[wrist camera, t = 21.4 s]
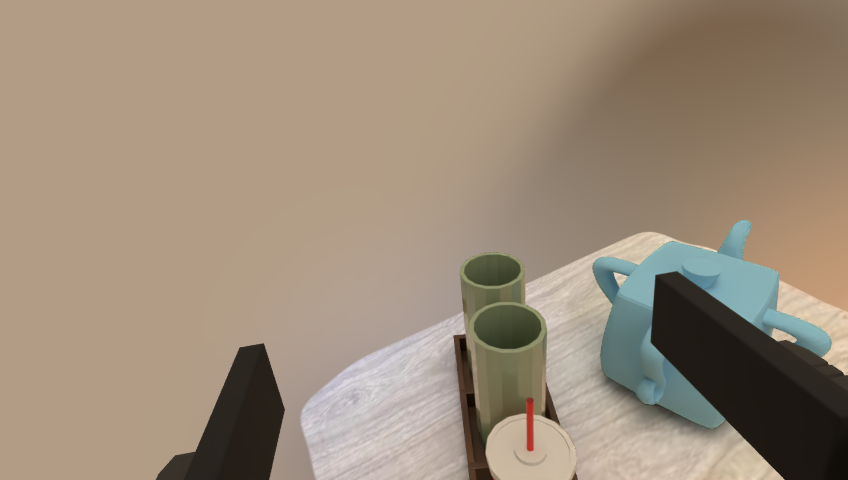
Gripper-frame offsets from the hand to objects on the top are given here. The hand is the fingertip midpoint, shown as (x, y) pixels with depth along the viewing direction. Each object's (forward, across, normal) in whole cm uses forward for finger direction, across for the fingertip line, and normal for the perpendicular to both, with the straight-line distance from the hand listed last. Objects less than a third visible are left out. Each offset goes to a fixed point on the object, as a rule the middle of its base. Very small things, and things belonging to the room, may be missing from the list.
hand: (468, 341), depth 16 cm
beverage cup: (+12, +5, -26) cm, 29 cm away
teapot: (+24, +26, -25) cm, 44 cm away
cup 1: (+27, +7, -25) cm, 38 cm away
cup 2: (+20, +6, -26) cm, 33 cm away
